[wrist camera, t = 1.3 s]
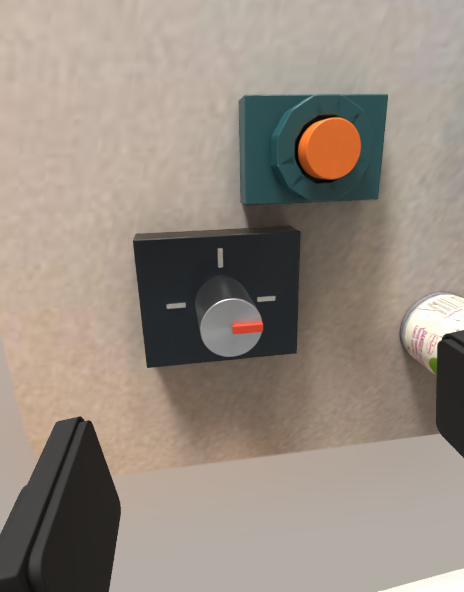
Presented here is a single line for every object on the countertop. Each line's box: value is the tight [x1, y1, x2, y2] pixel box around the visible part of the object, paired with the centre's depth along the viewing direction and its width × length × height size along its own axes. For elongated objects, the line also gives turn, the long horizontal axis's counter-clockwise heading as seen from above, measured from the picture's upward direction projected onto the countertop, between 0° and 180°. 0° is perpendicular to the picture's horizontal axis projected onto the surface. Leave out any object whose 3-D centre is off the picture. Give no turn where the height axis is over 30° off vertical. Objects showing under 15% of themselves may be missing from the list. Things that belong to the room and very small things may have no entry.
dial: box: [195, 277, 263, 357], centre depth 27 cm, size 4×4×5 cm
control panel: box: [133, 226, 300, 368], centre depth 30 cm, size 12×10×3 cm
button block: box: [239, 94, 388, 205], centre depth 27 cm, size 10×7×4 cm
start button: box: [298, 118, 361, 180], centre depth 25 cm, size 4×4×2 cm
